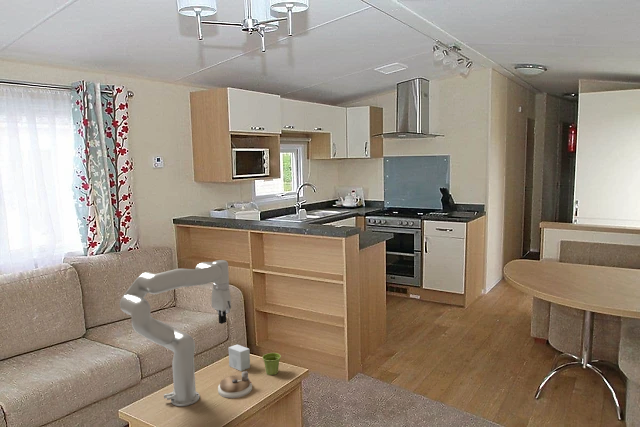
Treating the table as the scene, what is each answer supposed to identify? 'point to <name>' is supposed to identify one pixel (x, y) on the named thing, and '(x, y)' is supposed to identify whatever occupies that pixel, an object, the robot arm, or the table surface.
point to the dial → (235, 383)
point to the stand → (235, 394)
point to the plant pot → (271, 363)
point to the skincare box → (239, 357)
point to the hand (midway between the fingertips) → (222, 322)
